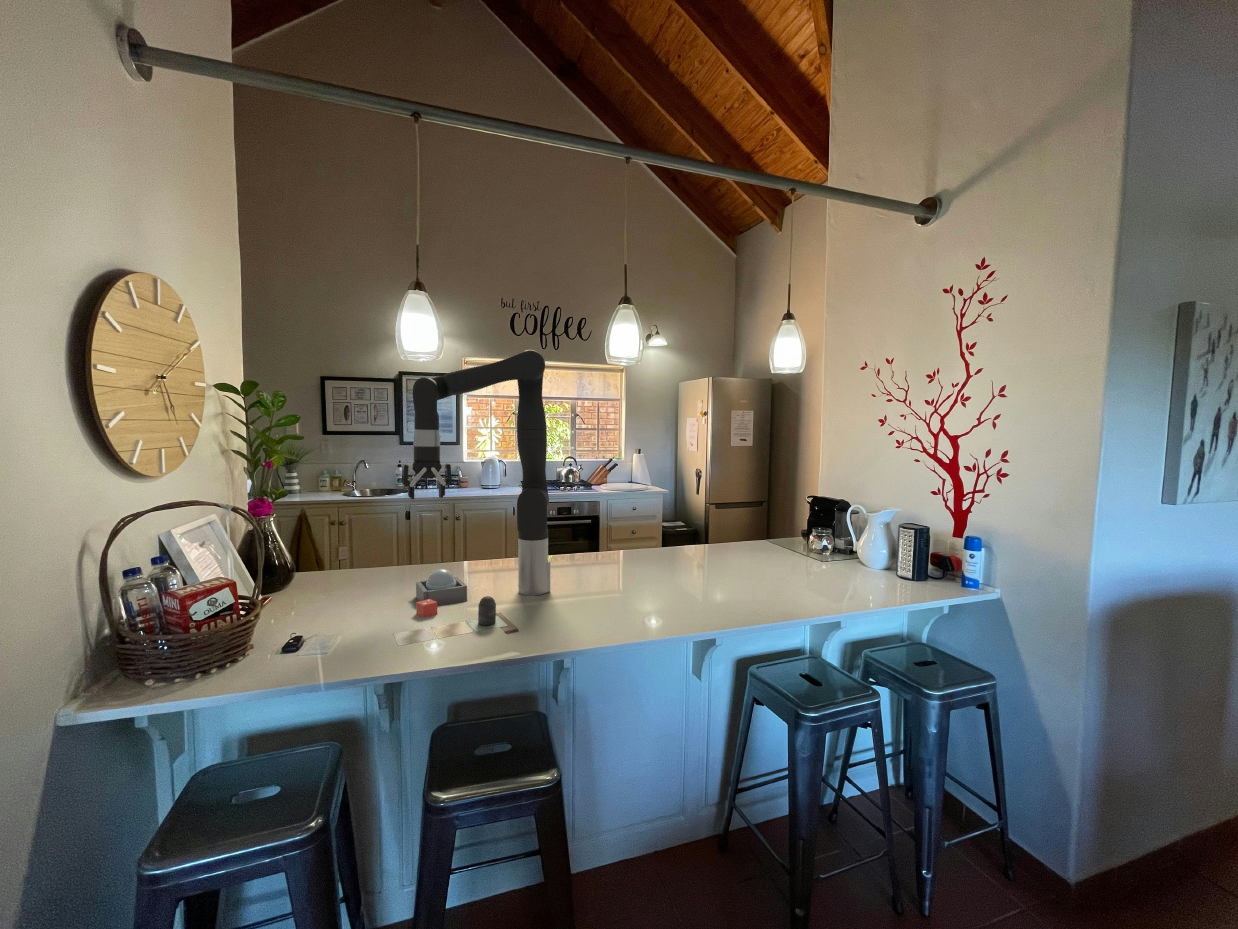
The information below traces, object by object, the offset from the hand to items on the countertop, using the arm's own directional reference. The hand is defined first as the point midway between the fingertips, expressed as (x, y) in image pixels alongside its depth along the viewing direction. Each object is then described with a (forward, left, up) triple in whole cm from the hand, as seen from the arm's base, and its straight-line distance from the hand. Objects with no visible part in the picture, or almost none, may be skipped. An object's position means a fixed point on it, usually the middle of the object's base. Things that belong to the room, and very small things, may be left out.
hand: (426, 498), depth 165 cm
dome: (-3, +5, -28) cm, 29 cm away
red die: (+4, +19, -30) cm, 36 cm away
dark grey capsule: (-8, +34, -29) cm, 46 cm away
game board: (+1, +34, -30) cm, 46 cm away
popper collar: (-3, +5, -30) cm, 30 cm away
